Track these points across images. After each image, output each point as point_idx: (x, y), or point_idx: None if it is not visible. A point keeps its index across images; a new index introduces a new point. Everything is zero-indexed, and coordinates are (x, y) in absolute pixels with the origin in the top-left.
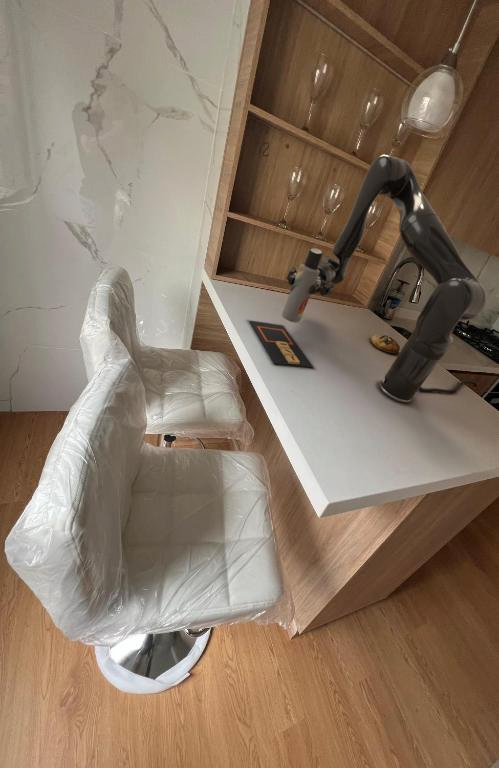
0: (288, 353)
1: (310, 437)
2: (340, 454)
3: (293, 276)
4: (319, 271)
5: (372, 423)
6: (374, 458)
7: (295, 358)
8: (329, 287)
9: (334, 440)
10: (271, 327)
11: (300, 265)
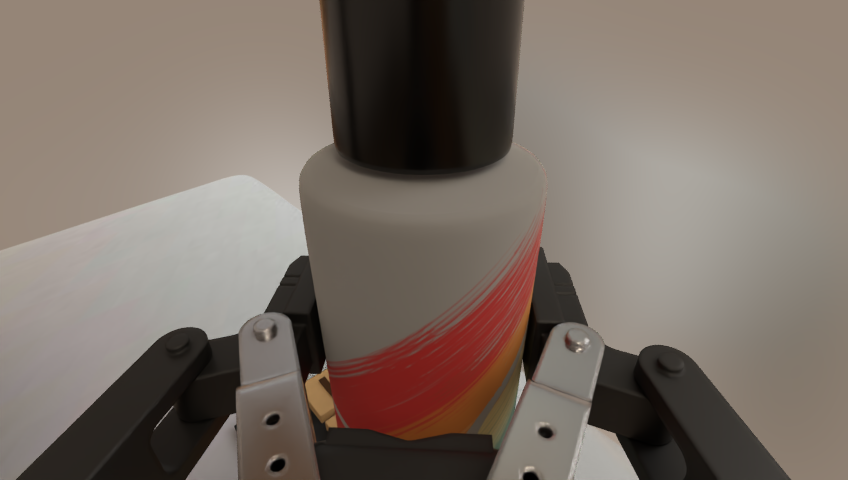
0: None
1: (263, 215)
2: (209, 214)
3: (538, 265)
4: (301, 176)
5: (77, 305)
6: (135, 233)
7: (318, 395)
8: (99, 407)
9: (214, 228)
10: None
11: (520, 147)
